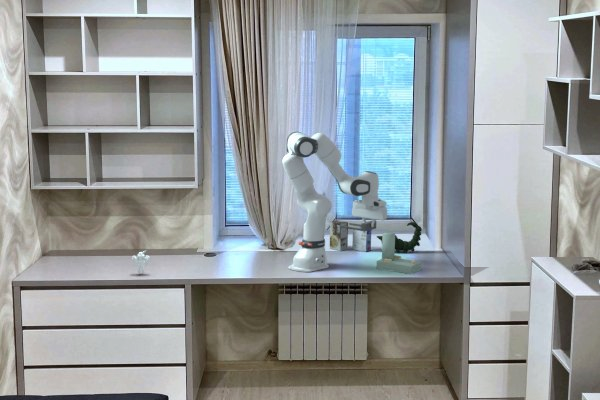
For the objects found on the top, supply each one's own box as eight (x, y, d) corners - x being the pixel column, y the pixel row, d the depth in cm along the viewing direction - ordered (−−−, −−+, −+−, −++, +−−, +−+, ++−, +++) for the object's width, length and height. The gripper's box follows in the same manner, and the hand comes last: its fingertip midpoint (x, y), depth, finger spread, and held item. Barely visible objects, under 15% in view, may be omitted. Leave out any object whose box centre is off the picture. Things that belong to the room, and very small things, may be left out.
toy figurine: (417, 253, 445) (374, 248, 446) (421, 221, 442) (378, 216, 443) (419, 257, 436) (375, 252, 437) (423, 224, 433) (378, 219, 434)
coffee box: (348, 249, 446) (348, 222, 444) (340, 251, 442) (340, 223, 439) (336, 246, 453) (337, 219, 450) (329, 248, 449) (329, 221, 446)
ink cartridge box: (371, 250, 445) (372, 225, 442) (366, 252, 440) (366, 227, 438) (357, 247, 451) (357, 223, 448) (351, 249, 446) (352, 225, 444)
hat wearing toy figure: (150, 272, 393) (150, 249, 391) (149, 274, 389) (148, 251, 387) (132, 272, 392) (132, 249, 390) (131, 274, 389) (130, 251, 387)
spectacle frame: (364, 231, 410) (365, 224, 410) (338, 227, 420) (339, 220, 419) (376, 228, 420) (376, 221, 419) (350, 224, 429) (350, 217, 429)
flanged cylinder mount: (410, 274, 393) (411, 239, 390) (376, 268, 404) (377, 234, 401) (421, 269, 403) (422, 235, 400) (387, 263, 414) (388, 230, 411)
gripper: (350, 199, 417) (349, 224, 419) (383, 204, 405) (382, 229, 407) (356, 198, 422) (355, 223, 424) (389, 202, 410) (387, 228, 412)
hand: (368, 226), depth 415 cm, fingers closed on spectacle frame, 2 cm apart
